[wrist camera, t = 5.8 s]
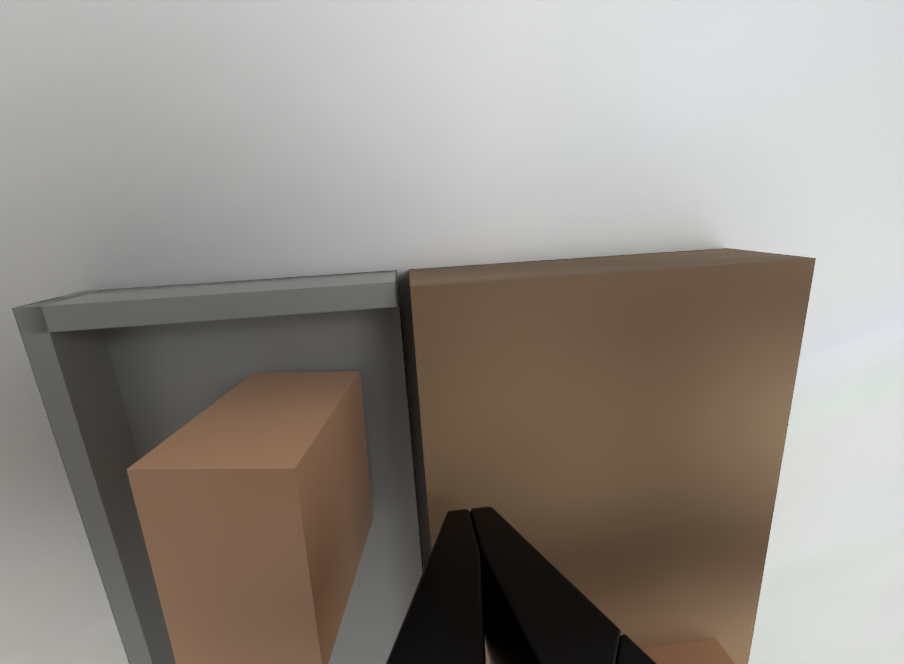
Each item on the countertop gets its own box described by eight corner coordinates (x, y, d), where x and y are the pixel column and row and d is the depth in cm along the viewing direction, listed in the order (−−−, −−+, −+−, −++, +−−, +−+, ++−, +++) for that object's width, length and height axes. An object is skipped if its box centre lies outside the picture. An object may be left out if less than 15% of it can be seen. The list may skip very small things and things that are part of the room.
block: (324, 678, 7) (179, 675, 7) (373, 517, 11) (277, 517, 11) (294, 469, 6) (126, 469, 6) (360, 370, 10) (254, 372, 10)
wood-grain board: (677, 690, 15) (728, 780, 13) (445, 726, 14) (453, 828, 12) (726, 248, 11) (815, 258, 9) (408, 269, 10) (409, 287, 8)
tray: (436, 727, 14) (440, 797, 13) (214, 761, 14) (187, 840, 12) (396, 270, 10) (394, 281, 9) (81, 291, 10) (12, 308, 8)
